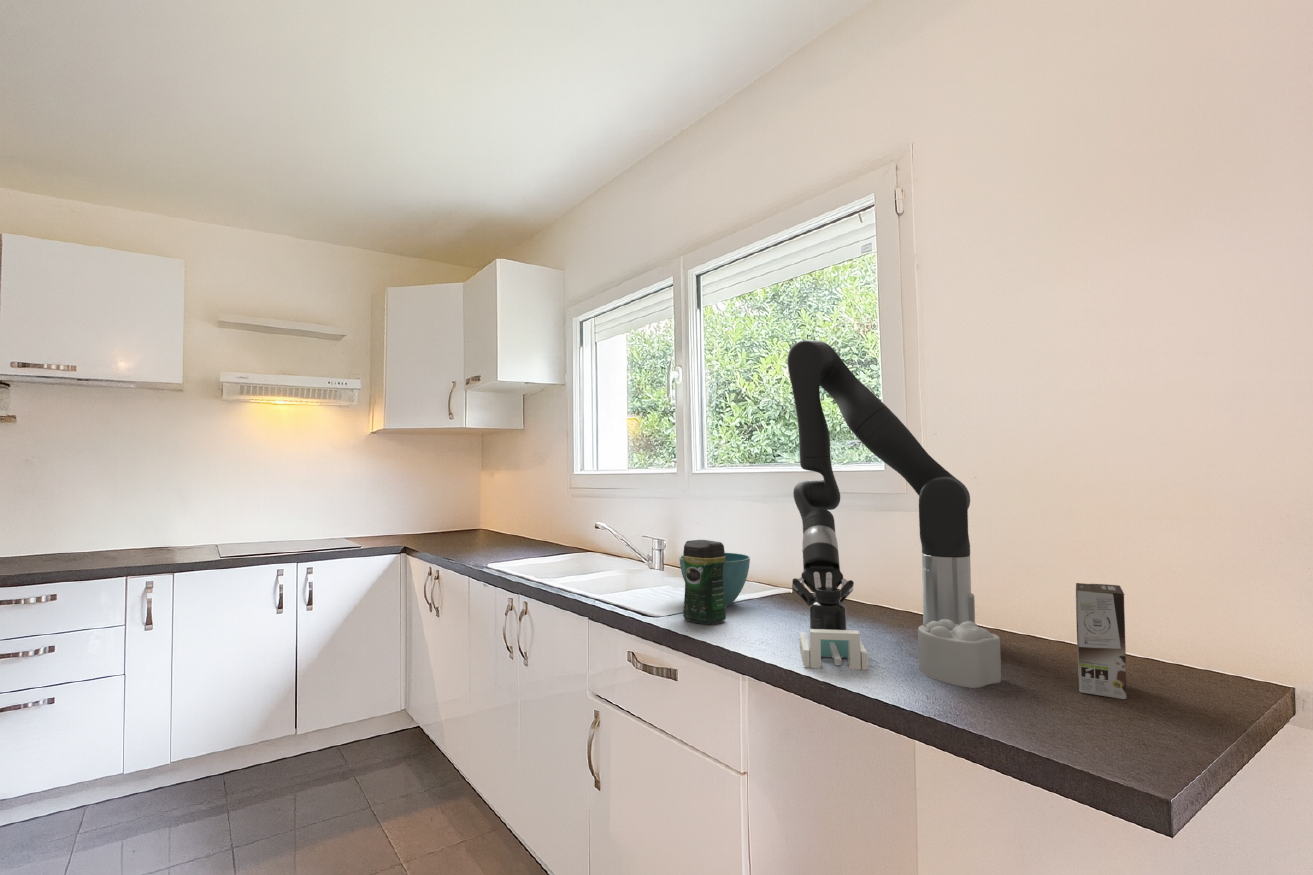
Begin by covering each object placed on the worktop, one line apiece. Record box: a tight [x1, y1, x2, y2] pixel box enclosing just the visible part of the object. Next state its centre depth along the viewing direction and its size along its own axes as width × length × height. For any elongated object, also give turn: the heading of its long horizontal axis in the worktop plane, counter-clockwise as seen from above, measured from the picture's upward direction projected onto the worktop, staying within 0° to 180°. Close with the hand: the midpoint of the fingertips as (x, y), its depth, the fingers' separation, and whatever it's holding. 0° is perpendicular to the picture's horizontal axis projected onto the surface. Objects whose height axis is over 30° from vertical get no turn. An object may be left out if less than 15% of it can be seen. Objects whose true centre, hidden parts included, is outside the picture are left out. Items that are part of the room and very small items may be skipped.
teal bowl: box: [679, 552, 751, 608], centre depth 174 cm, size 18×18×12 cm
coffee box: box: [1075, 582, 1127, 700], centre depth 108 cm, size 9×6×16 cm
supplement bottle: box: [809, 587, 847, 630], centre depth 129 cm, size 7×7×12 cm
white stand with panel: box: [799, 628, 869, 671], centre depth 125 cm, size 11×13×6 cm
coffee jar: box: [682, 539, 727, 625], centre depth 156 cm, size 10×8×19 cm
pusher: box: [809, 639, 848, 666], centre depth 120 cm, size 8×12×4 cm, turn 171°
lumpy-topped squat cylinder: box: [917, 619, 1002, 689], centre depth 116 cm, size 10×13×9 cm
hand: (825, 622), depth 133 cm, fingers closed
